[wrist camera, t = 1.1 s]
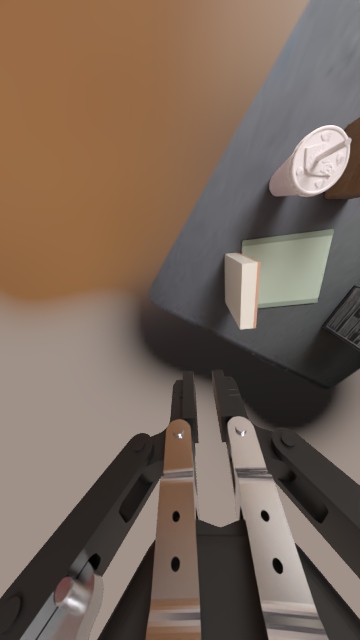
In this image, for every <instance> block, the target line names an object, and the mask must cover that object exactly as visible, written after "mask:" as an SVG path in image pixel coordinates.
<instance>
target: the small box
mask: <svg viewBox="0 0 360 640" xmlns="http://www.w3.org/2000/svg"><path fill="white" fill-rule="evenodd" d="M322 327H323V329H326V330H328V331H329V332H331V333H332V334H334V335H335V336H336V337H338V338H339V339H341V340H342V341H344V342H345V343H347V344H348V345H350V346H352V347H353V348H354V349H356V350H358V351H359V352H360V286H358V285H355V286H354V287H353V288H352V289H351V290H350V292H349V293H348V294H347V296H346V297H345V298H344V299H343V301H342V302H341V303H340V304H339V306H338V307H337V308H336V309H335V311H334V312H333V313H332V315H331V316H330V317H329V318H328V320H327V321H326V322H325V323H324V325H323V326H322Z"/></svg>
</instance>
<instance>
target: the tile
mask: <svg viewBox="0 0 360 640" xmlns="http://www.w3.org/2000/svg"><path fill="white" fill-rule="evenodd" d="M260 266H261V262H260V261H257V260H255V259H252V258H250V257H247V256H245V255H242V254H240V253H229V254H225V303H226V305H227V307H228V308H229V310H230V312H231V314H232V316H233V317H234V319H235V321H236V323H237V325H238V326H239V328H240V329H250V328H256V319H257V305H258V292H259V279H260Z"/></svg>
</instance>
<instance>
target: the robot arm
mask: <svg viewBox="0 0 360 640" xmlns="http://www.w3.org/2000/svg"><path fill="white" fill-rule="evenodd" d="M212 378H213V392H214V398H215V404H216V410H217V415H218V421H219V427H220V433H221V439H222V442H226V444H227V449H228V460H229V467H230V474H231V480H232V487H233V492H234V500H235V511H236V518H237V521H236V522H234V523H231V524H229V525H226V526H224V527H217V526H214V525H211V524H209V523H206V522H204V521H201V520H200V515H199V505H198V493H197V480H196V465H195V443H198V426H197V409H196V393H195V384H194V374H193V372H183V380H177V381H176V382H175V384H174V385H173V394H172V406H171V418H170V423H169V425H168V427H167V428H166V429H165V430H164V431H163V432H161V433H159V434H157V435H154V436H152V437H150V436H149V435H148V434H145V433H140V434H137V435H135V436H134V437H133V438H132V439H131V440H130V441H129V442H128V443H127V445H126V446H125V447H124V448H123V449H122V451H121V452H120V453H119V454H118V455H117V457H116V458H115V459H114V461H113V462H112V463H111V464H110V465H109V466H108V468H107V469H106V470H105V471H104V473H103V474H102V475H101V476H100V477H99V479H98V480H97V481H96V482H95V484H94V485H93V486H92V487H91V488H90V490H89V491H88V492H87V493H86V495H85V496H84V497H83V498H82V499H81V501H80V502H79V503H78V504H77V505H76V507H75V508H74V509H73V510H72V512H71V513H70V514H69V515H68V516H67V518H66V519H65V520H64V521H63V522H62V524H61V525H60V526H59V527H58V529H57V530H56V531H55V532H54V533H53V535H52V536H51V537H50V538H49V540H48V541H47V542H46V543H45V545H44V546H43V547H42V548H41V549H40V550H39V552H38V553H37V554H36V555H35V557H34V558H33V559H32V560H31V562H30V563H29V564H28V565H27V566H26V568H25V569H24V570H23V571H22V572H21V574H20V575H19V576H18V577H17V579H16V580H15V581H14V582H13V583H12V585H11V586H10V587H9V588H8V589H7V591H6V592H5V593H4V595H3V596H2V597H1V598H0V640H89V636H90V632H91V629H92V627H93V624H94V622H95V620H96V617H97V615H98V613H99V610H100V607H101V603H102V598H103V590H104V588H103V579H102V576H103V574H104V573H105V571H106V569H107V567H108V566H109V564H110V562H111V561H112V559H113V557H114V556H115V554H116V552H117V550H118V549H119V547H120V545H121V544H122V542H123V540H124V538H125V537H126V535H127V534H128V532H129V530H130V528H131V527H132V525H133V523H134V521H135V520H136V518H137V517H138V515H139V513H140V511H141V510H142V508H143V506H144V505H145V503H146V501H147V500H148V498H149V496H150V494H151V492H152V491H153V489H154V488H155V486H156V484H157V483H158V481H159V479H160V478H161V480H160V489H159V502H158V515H157V528H156V539H155V540H154V542H153V543H152V545H151V546H150V547H149V549H148V551H147V553H146V555H145V556H144V558H143V560H142V561H141V563H140V565H139V567H138V568H137V570H136V572H135V574H134V576H133V577H132V579H131V581H130V583H129V585H128V586H127V588H126V590H125V591H124V593H123V595H122V597H121V599H120V601H119V602H118V604H117V606H116V607H115V609H114V611H113V613H112V615H111V616H110V618H109V620H108V622H107V623H106V625H105V627H104V629H103V630H102V632H101V634H100V636H99V638H98V639H97V640H360V619H359V618H358V617H357V615H356V614H355V613H354V612H353V610H352V609H351V608H350V607H349V606H348V604H347V603H346V602H345V601H344V600H343V599H342V597H341V596H340V595H339V594H338V593H337V591H336V590H335V589H334V588H333V587H332V585H331V584H330V583H329V582H328V581H327V579H326V578H325V577H324V576H323V575H322V573H321V572H320V571H319V570H318V569H317V567H316V566H315V565H314V564H313V563H312V561H311V560H310V559H309V558H308V557H307V555H306V554H305V553H304V552H303V551H302V550H301V548H300V547H299V546H298V545H297V544H296V543H294V540H293V537H292V534H291V531H290V528H289V525H288V521H287V519H286V515H285V512H284V509H283V506H282V503H281V500H280V497H279V494H278V491H277V488H276V485H275V482H276V484H277V485H278V486H279V487H280V488H281V489H282V490H283V492H284V493H285V494H286V495H287V496H288V497H289V498H290V500H291V501H292V502H293V503H294V504H295V505H296V506H297V507H298V508H299V510H300V511H301V512H302V513H303V514H304V515H305V517H306V518H307V519H308V520H309V521H310V522H311V524H312V525H313V526H314V527H315V528H316V529H317V530H318V532H319V533H320V534H321V535H322V536H323V537H324V538H325V540H326V541H327V542H328V543H329V544H330V545H331V546H332V548H333V549H334V550H335V551H336V552H337V553H338V554H339V556H340V557H341V558H342V559H343V560H344V561H345V562H346V564H347V565H348V566H349V567H350V568H351V569H352V570H353V572H354V573H355V574H356V575H357V576H358V577H359V579H360V485H358V484H357V483H356V482H355V481H353V480H352V479H351V478H350V477H349V476H347V475H346V474H345V473H344V472H343V471H341V470H340V469H339V468H338V467H336V466H335V465H334V464H333V463H332V462H330V461H329V460H328V459H327V458H325V457H324V456H323V455H322V454H321V453H319V452H318V451H317V450H316V449H314V448H313V447H312V446H311V445H309V443H307V442H306V441H305V440H304V439H302V438H301V437H300V436H299V435H298V434H296V433H295V432H294V431H292V430H290V429H287V428H277V429H276V430H274V432H272V431H268V430H265V429H261V428H259V427H257V426H255V425H254V424H253V423H252V422H251V421H250V420H249V418H248V416H247V414H246V411H245V408H244V405H243V402H242V399H241V396H240V393H239V390H238V387H237V384H236V382H235V380H234V379H233V378H232V377H224V373H223V370H222V369H221V370H212ZM274 481H275V482H274Z"/></svg>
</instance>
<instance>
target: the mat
mask: <svg viewBox="0 0 360 640" xmlns="http://www.w3.org/2000/svg"><path fill="white" fill-rule="evenodd" d="M333 232H334V229H329V230H322V231H314V232H306V233H298V234H290V235H283V236H275V237H267V238H259V239H251V240H243V241H242V255H245V256H247V257H250V258H252V259H255V260H257V261H260V262H261V266H260V279H259V292H258V305H257V308H266V307H277V306H287V305H297V304H307V303H317V301H318V296H319V292H320V288H321V283H322V279H323V275H324V271H325V266H326V262H327V258H328V253H329V249H330V245H331V240H332V236H333Z"/></svg>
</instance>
